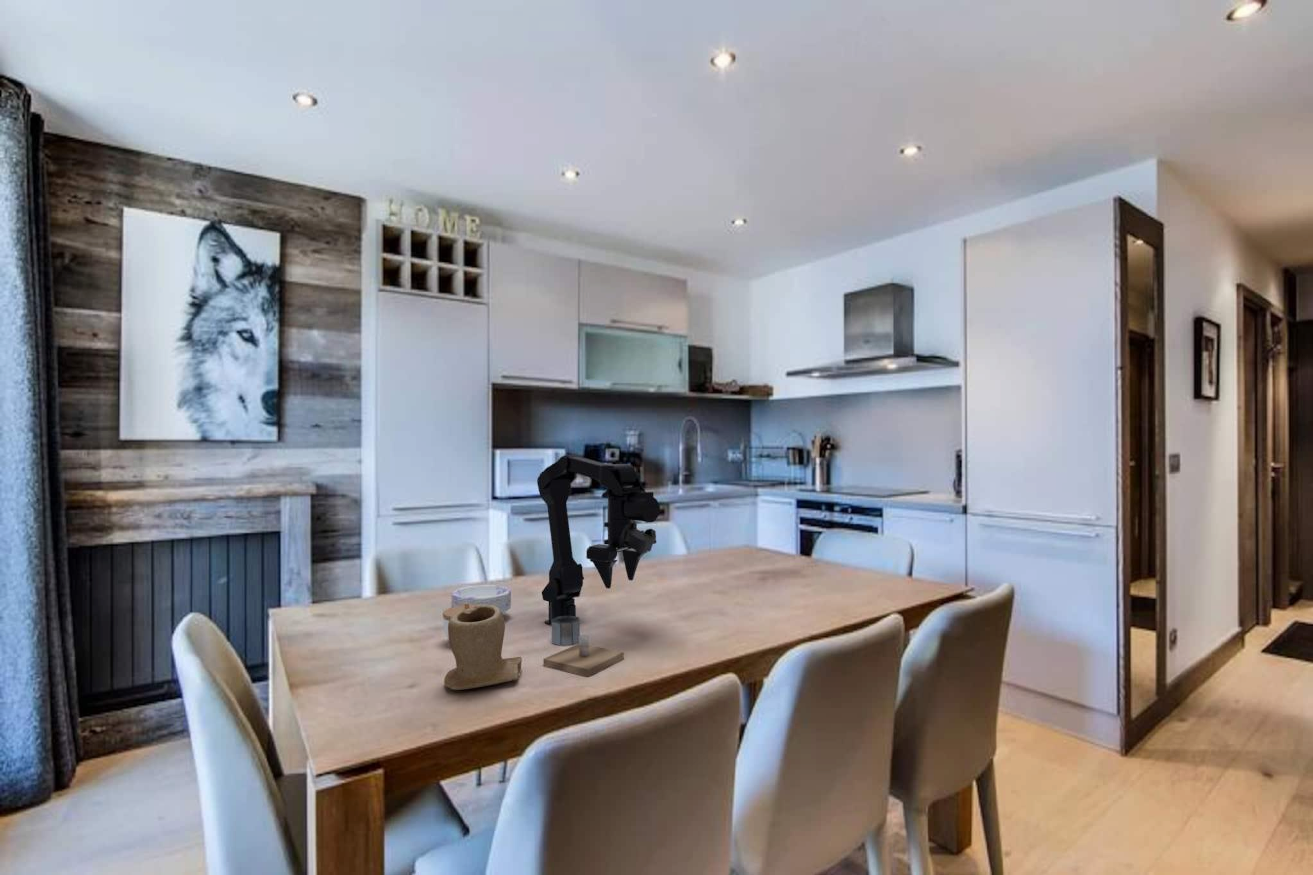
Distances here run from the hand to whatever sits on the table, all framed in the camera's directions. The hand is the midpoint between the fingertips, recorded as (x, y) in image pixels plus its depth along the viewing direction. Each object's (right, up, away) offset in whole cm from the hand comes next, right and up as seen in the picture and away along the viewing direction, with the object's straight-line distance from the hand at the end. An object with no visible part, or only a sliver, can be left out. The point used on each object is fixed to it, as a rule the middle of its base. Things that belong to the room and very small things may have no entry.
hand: (619, 584), depth 148 cm
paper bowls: (-38, -14, +18) cm, 44 cm away
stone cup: (-24, -14, -26) cm, 38 cm away
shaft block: (-7, -13, -15) cm, 21 cm away
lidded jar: (-36, -14, -1) cm, 38 cm away
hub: (-13, -13, 0) cm, 18 cm away
